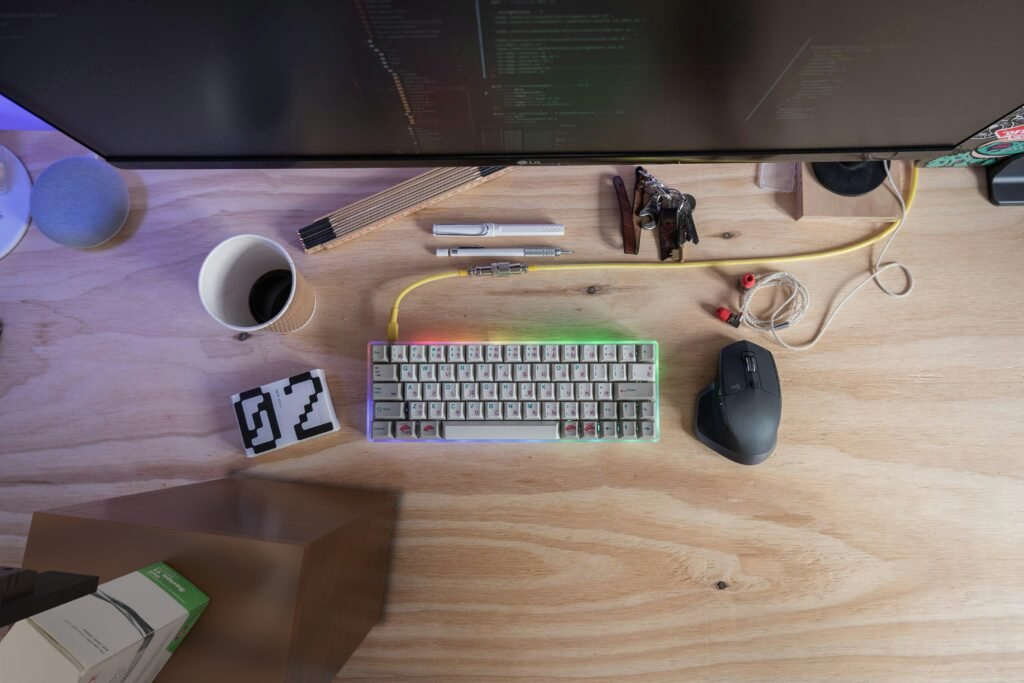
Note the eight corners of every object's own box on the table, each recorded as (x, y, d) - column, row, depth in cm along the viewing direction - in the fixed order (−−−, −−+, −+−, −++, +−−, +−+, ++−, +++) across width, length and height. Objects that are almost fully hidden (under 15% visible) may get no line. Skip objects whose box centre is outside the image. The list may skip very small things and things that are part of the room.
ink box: (162, 556, 42) (20, 607, 31) (214, 600, 42) (92, 668, 30) (81, 662, 42) (-95, 756, 30) (134, 707, 41) (-24, 821, 29)
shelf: (280, 747, 42) (271, 759, 40) (7, 708, 43) (-12, 719, 41) (312, 541, 44) (304, 545, 42) (49, 508, 45) (33, 511, 43)
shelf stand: (379, 619, 70) (280, 747, 42) (212, 597, 70) (7, 708, 43) (396, 496, 71) (312, 541, 44) (233, 476, 72) (49, 508, 45)
